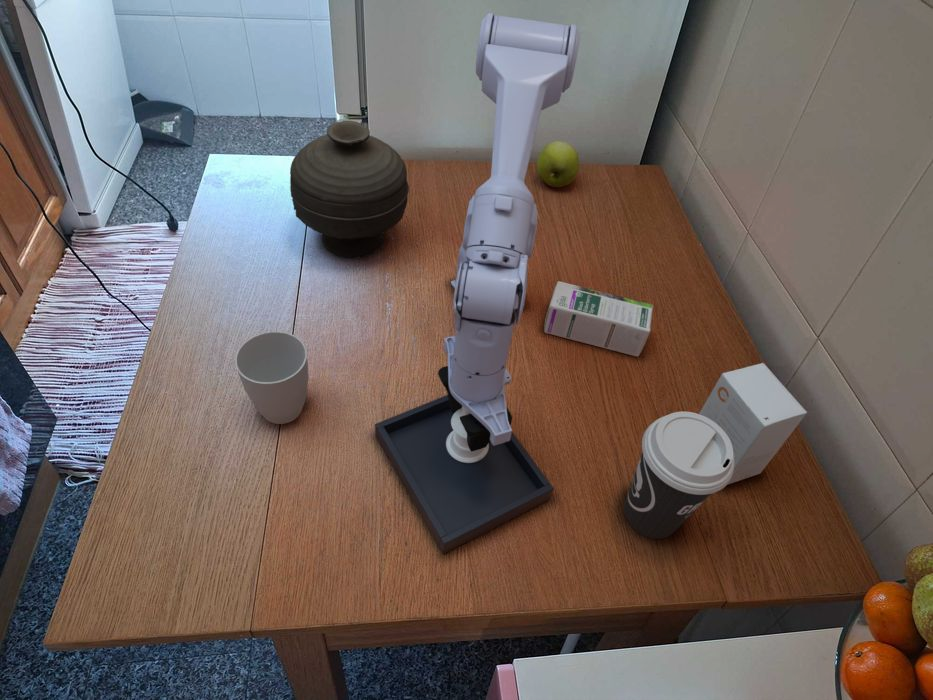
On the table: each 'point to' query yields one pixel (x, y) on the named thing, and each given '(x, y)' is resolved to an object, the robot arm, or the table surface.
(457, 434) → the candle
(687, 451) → the coffee cup
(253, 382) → the cup
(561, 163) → the apple
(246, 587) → the table surface
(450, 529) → the tray
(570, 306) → the syrup box
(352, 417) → the table surface
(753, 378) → the small box
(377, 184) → the pot
